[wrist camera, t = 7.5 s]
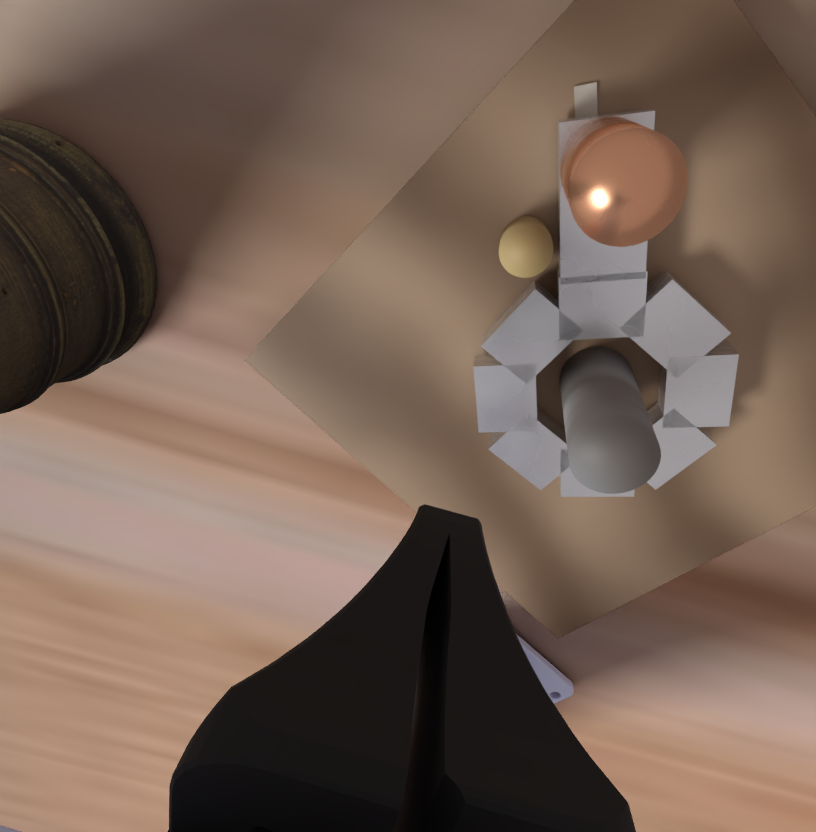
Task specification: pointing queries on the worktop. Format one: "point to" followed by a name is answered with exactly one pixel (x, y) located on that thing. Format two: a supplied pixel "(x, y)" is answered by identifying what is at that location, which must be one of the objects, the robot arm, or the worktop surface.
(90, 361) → the container
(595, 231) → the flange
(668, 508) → the jig base
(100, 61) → the worktop surface
